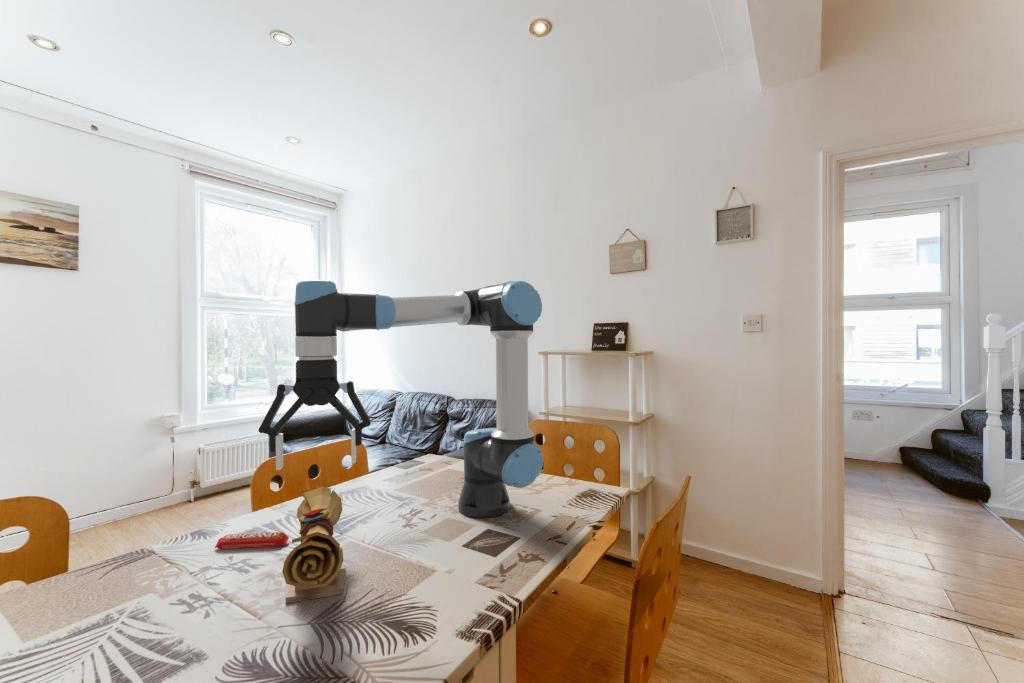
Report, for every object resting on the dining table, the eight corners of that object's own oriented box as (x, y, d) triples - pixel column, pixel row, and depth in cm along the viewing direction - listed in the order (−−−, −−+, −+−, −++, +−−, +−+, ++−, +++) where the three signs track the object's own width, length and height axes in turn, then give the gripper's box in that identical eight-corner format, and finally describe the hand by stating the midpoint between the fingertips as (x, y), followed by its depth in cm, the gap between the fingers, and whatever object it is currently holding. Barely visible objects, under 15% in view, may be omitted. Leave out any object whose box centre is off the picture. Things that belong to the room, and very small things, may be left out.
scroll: (343, 587, 75) (343, 530, 75) (281, 600, 71) (281, 539, 71) (342, 525, 100) (342, 482, 100) (296, 532, 96) (296, 488, 96)
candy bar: (212, 552, 100) (212, 540, 100) (222, 545, 104) (221, 533, 104) (284, 549, 102) (284, 536, 102) (290, 542, 106) (290, 529, 106)
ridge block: (346, 572, 91) (345, 537, 91) (342, 593, 83) (342, 555, 83) (294, 580, 88) (293, 543, 88) (285, 603, 80) (285, 563, 80)
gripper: (381, 356, 93) (382, 454, 93) (251, 359, 86) (252, 465, 86) (381, 357, 86) (382, 464, 86) (239, 360, 78) (240, 476, 78)
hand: (317, 465), depth 86 cm, fingers open, 13 cm apart
